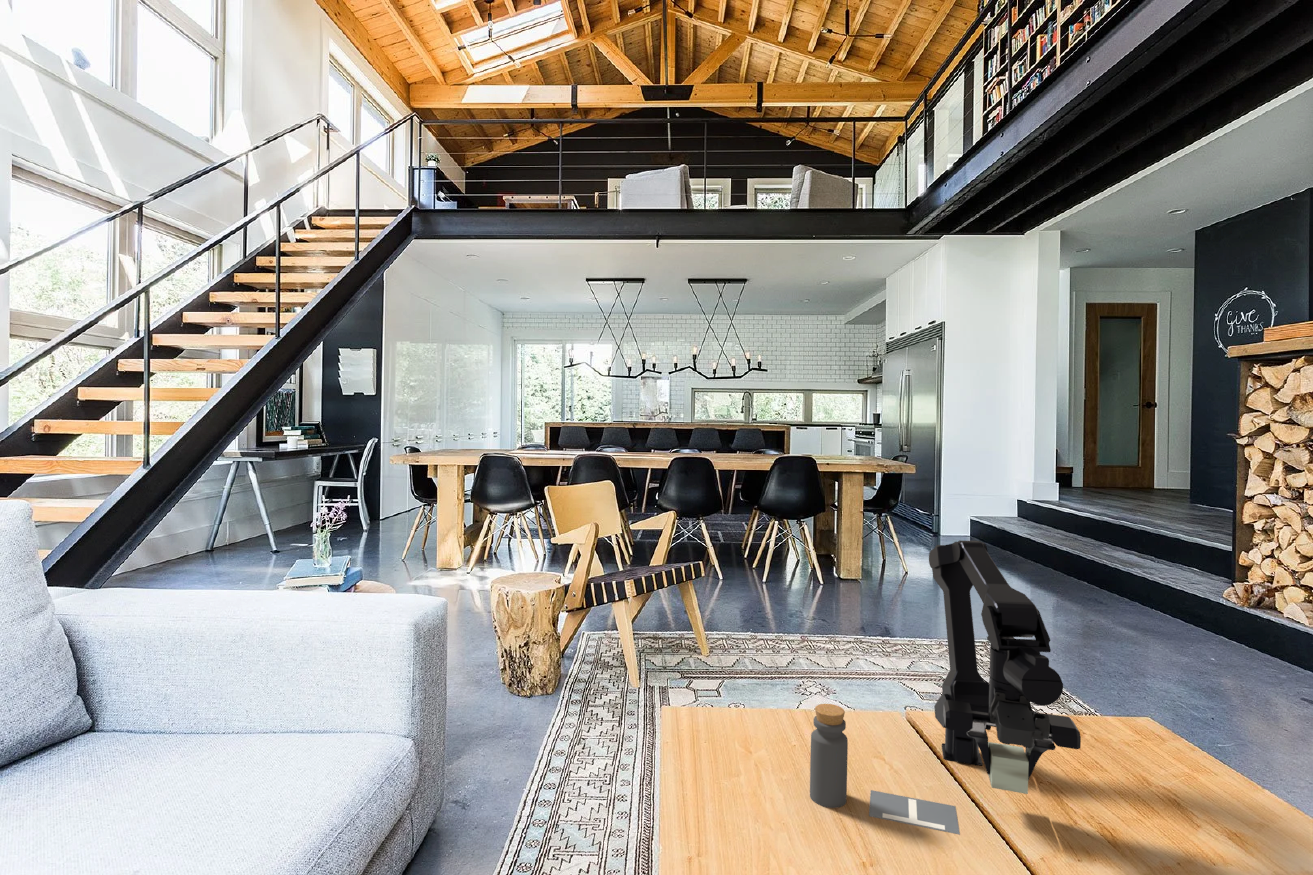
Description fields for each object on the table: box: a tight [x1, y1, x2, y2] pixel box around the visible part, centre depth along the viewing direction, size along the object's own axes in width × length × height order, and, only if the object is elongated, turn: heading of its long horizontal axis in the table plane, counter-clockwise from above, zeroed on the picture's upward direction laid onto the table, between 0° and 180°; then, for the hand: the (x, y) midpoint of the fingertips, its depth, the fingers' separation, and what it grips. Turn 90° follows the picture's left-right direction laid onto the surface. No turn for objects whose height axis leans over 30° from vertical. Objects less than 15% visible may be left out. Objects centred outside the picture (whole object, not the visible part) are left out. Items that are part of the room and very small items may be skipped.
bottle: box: [809, 703, 849, 809], centre depth 109 cm, size 6×6×15 cm
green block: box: [987, 741, 1029, 795], centre depth 106 cm, size 5×5×5 cm
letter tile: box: [868, 789, 961, 836], centre depth 106 cm, size 8×13×1 cm, turn 70°
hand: (1007, 776), depth 106 cm, fingers closed on green block, 5 cm apart
